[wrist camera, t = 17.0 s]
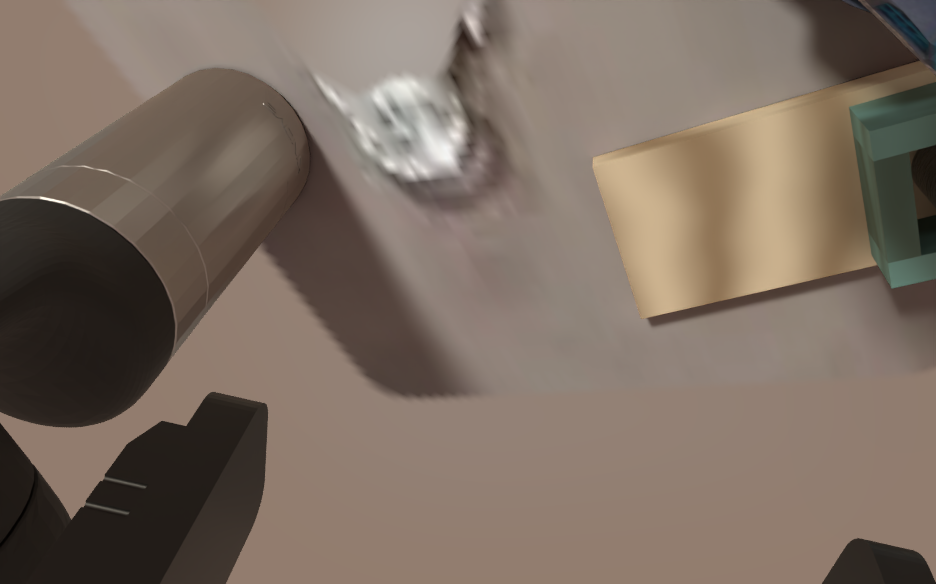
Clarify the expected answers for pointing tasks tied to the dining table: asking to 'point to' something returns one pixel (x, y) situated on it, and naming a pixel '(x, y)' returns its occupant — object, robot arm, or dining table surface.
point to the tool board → (778, 195)
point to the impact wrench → (907, 24)
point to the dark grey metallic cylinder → (925, 172)
